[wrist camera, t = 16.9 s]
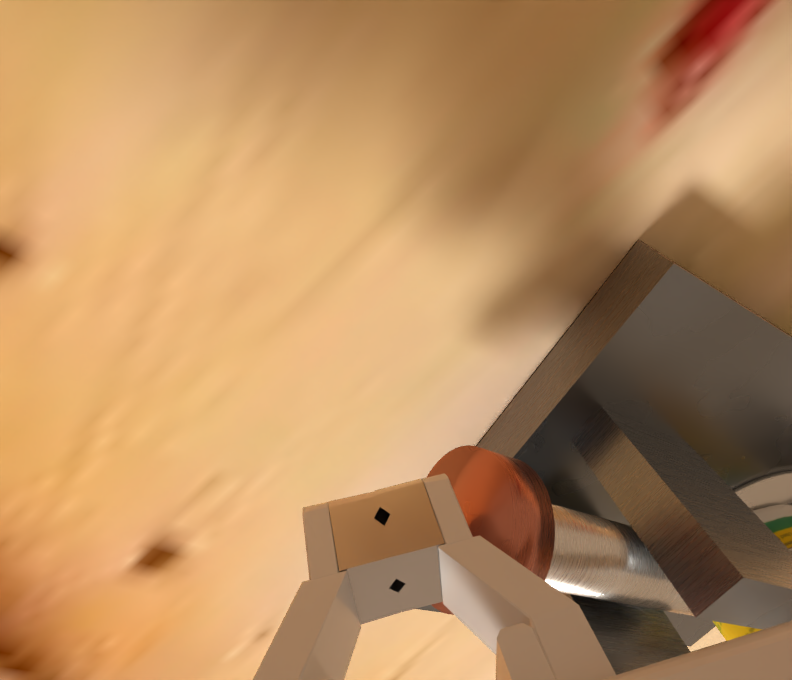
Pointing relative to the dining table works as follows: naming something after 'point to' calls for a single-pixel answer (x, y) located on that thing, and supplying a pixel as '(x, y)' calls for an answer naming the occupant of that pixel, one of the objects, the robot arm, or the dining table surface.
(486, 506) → the ram
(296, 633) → the robot arm
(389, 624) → the dining table surface
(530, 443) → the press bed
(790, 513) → the supplement bottle
